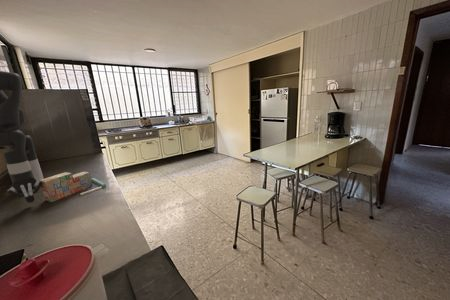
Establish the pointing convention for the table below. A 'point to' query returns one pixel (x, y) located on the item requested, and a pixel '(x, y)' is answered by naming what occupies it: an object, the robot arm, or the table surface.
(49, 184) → the stack of blocks
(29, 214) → the table surface
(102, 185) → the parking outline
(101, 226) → the table surface
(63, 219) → the table surface
